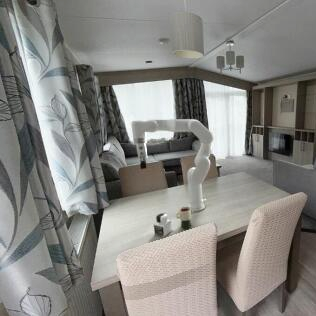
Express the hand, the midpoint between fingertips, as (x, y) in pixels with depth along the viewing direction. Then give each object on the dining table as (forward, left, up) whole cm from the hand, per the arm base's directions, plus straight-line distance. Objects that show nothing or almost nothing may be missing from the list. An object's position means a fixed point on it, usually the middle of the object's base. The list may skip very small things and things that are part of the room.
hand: (143, 166), depth 128 cm
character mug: (-4, +30, -37) cm, 48 cm away
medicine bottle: (+7, +22, -37) cm, 44 cm away
